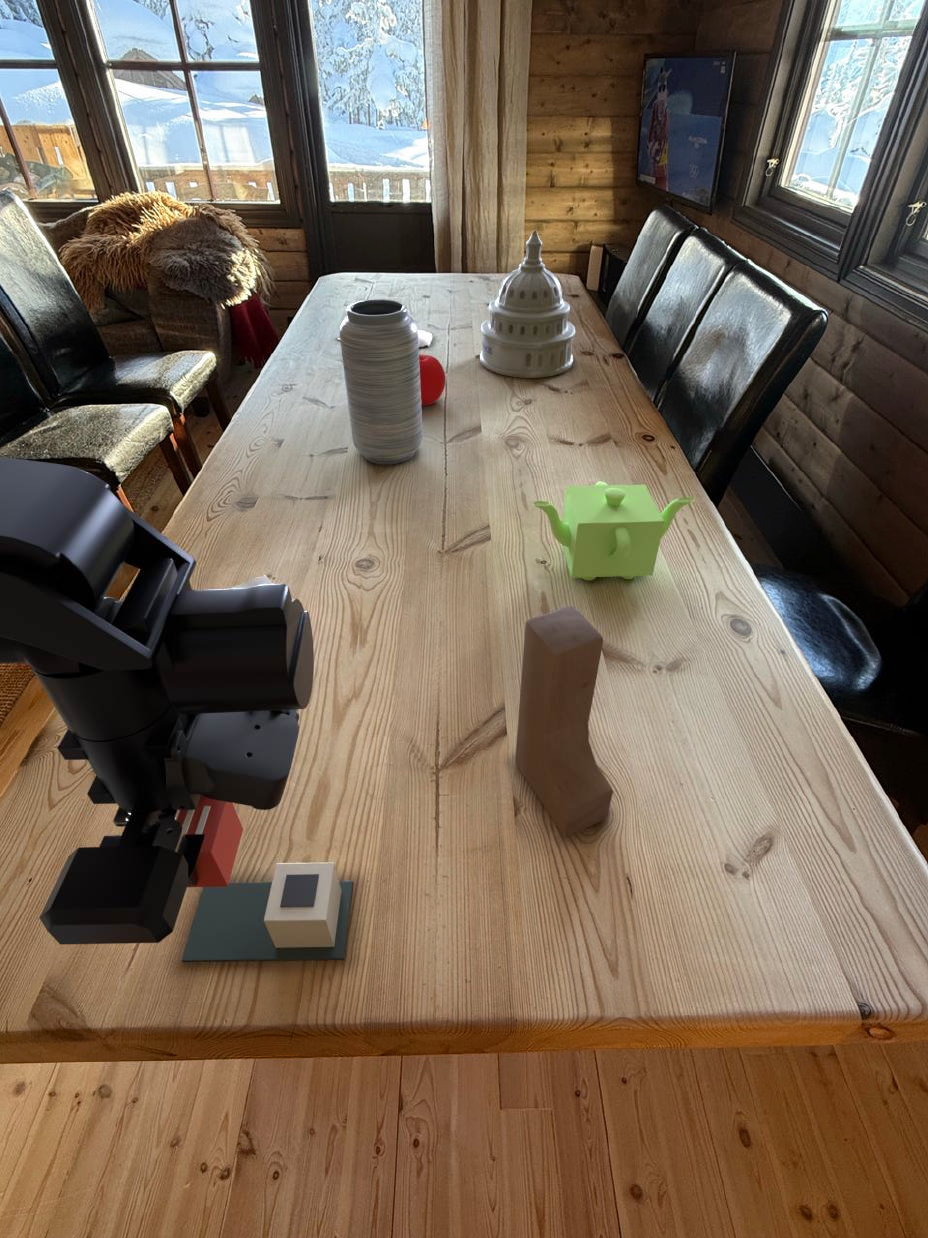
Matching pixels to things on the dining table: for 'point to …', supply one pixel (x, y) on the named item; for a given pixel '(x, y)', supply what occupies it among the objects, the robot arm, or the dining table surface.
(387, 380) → the vase
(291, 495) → the dining table surface
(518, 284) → the dome
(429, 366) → the fruit
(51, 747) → the dining table surface
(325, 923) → the white cube on base
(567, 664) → the wooden block
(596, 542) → the teapot
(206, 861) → the white-striped red block
